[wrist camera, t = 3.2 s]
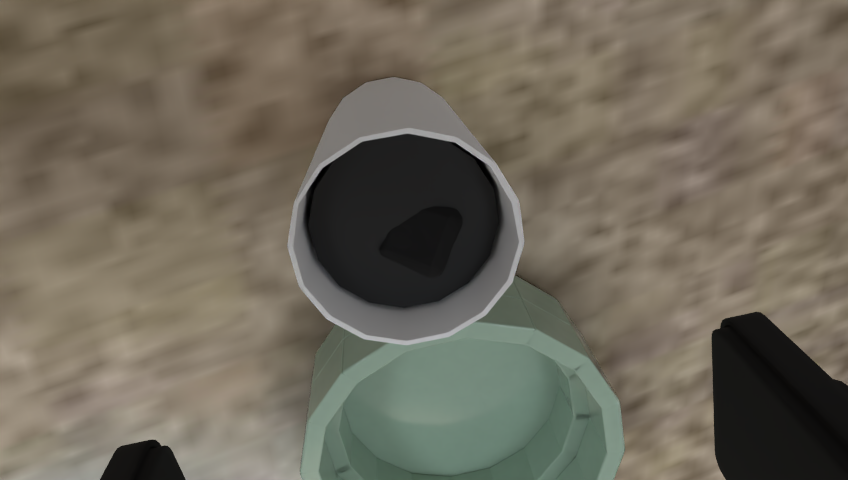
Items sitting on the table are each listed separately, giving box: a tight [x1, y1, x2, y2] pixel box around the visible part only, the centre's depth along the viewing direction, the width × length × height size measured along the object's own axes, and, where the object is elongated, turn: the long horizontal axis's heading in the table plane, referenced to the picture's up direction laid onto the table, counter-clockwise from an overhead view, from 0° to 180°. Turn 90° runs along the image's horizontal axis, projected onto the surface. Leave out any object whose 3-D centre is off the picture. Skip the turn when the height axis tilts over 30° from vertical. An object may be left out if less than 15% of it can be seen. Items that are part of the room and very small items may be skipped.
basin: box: [300, 276, 625, 480], centre depth 30 cm, size 14×14×6 cm
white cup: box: [287, 77, 524, 345], centre depth 23 cm, size 7×7×10 cm
